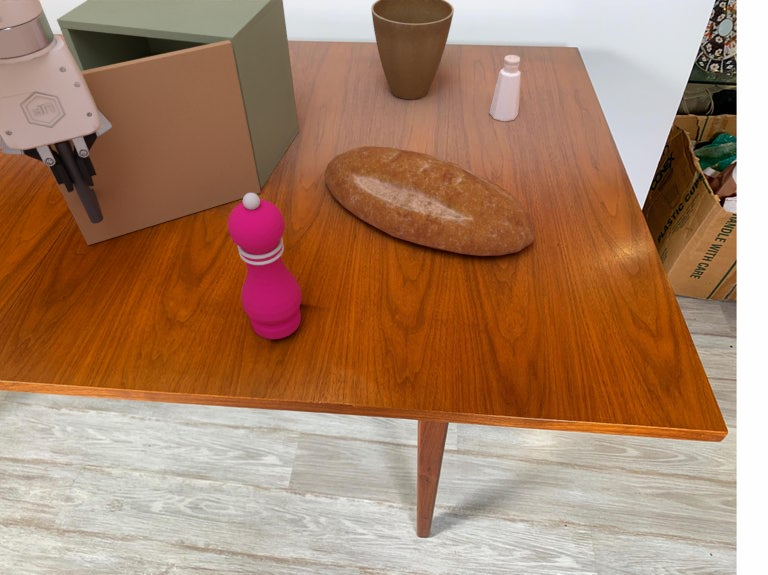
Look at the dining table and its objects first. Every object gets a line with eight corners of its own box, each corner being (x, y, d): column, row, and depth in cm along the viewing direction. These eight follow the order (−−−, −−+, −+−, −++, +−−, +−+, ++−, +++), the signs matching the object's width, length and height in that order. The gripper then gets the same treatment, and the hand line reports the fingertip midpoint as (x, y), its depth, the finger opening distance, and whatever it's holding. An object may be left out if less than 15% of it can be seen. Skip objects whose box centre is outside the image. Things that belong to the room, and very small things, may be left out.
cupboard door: (273, 213, 89) (245, 60, 72) (94, 270, 81) (13, 112, 63) (258, 189, 93) (229, 39, 76) (86, 241, 85) (9, 86, 67)
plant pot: (441, 113, 110) (447, 27, 98) (364, 104, 112) (362, 20, 101) (452, 77, 120) (459, -5, 109) (382, 70, 122) (381, -11, 111)
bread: (503, 289, 78) (513, 239, 71) (296, 202, 91) (289, 154, 85) (552, 219, 88) (564, 169, 82) (359, 150, 101) (357, 103, 95)
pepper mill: (301, 343, 72) (280, 216, 57) (243, 342, 72) (207, 216, 57) (307, 300, 77) (289, 174, 62) (253, 299, 77) (222, 173, 62)
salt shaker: (517, 108, 111) (527, 51, 103) (518, 122, 107) (529, 65, 99) (488, 106, 112) (496, 50, 104) (489, 121, 108) (497, 63, 100)
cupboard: (261, 189, 94) (232, 37, 76) (115, 167, 98) (56, 19, 81) (299, 131, 106) (281, -11, 88) (167, 114, 110) (126, -25, 93)
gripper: (-79, 65, 54) (13, 219, 67) (97, 32, 59) (150, 181, 72) (-77, 36, 59) (8, 185, 72) (86, 7, 64) (138, 152, 77)
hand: (79, 182), depth 72 cm, fingers closed on cupboard door
